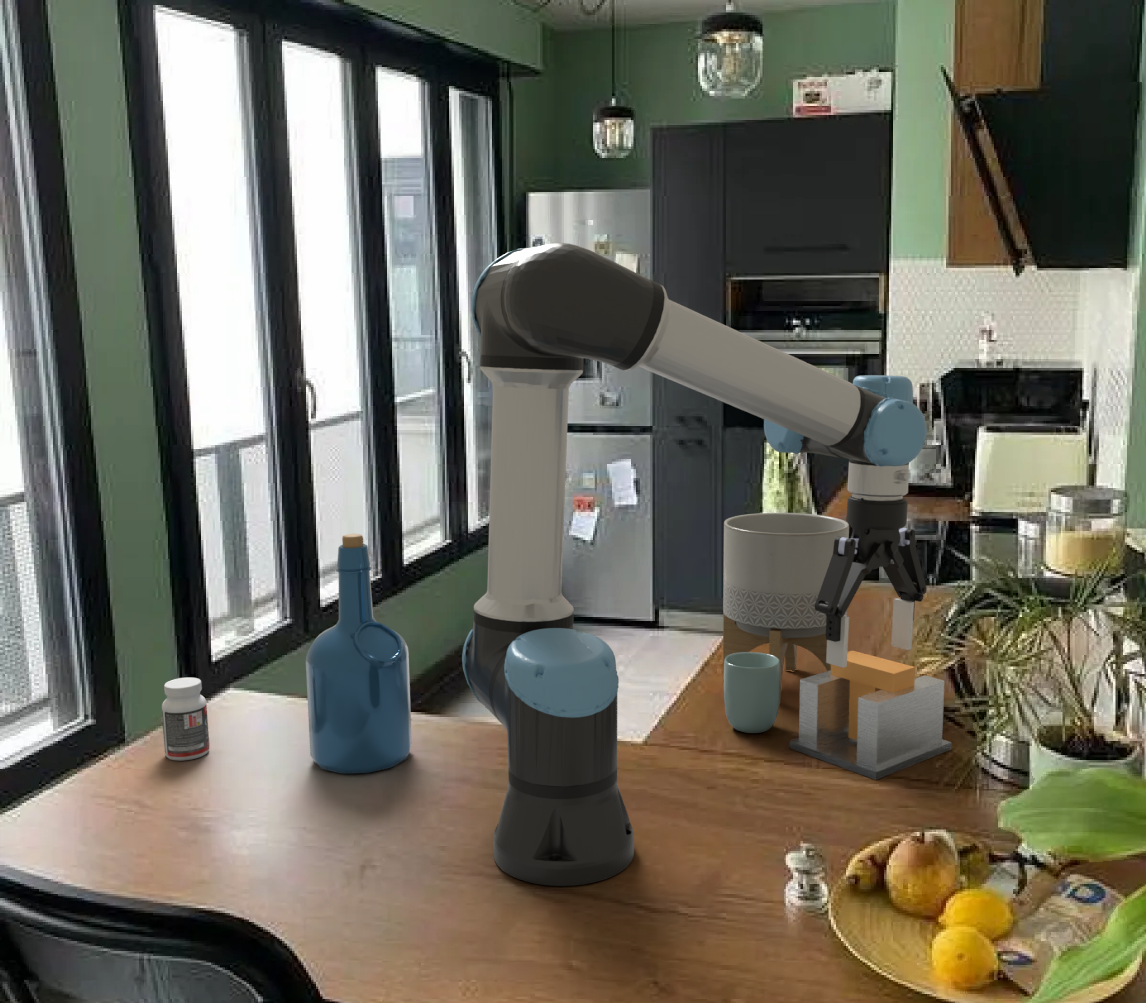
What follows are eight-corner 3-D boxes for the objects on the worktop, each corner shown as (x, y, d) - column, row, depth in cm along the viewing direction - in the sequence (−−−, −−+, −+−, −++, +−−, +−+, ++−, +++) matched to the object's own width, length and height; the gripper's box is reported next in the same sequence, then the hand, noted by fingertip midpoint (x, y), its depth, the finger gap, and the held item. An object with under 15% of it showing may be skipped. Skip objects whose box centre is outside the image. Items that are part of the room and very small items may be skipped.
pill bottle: (217, 753, 152) (213, 682, 151) (178, 765, 148) (173, 692, 147) (196, 743, 156) (191, 673, 155) (157, 754, 152) (152, 683, 151)
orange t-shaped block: (891, 752, 146) (893, 673, 144) (829, 731, 153) (831, 656, 152) (912, 744, 148) (915, 667, 147) (850, 724, 156) (852, 650, 155)
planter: (838, 710, 166) (842, 536, 162) (711, 698, 172) (712, 530, 168) (850, 673, 184) (854, 515, 180) (734, 663, 190) (736, 510, 186)
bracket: (875, 780, 141) (878, 706, 139) (789, 748, 152) (790, 679, 150) (951, 749, 151) (953, 680, 149) (864, 721, 161) (866, 657, 160)
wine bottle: (290, 760, 150) (278, 536, 145) (371, 733, 159) (363, 522, 155) (352, 787, 140) (342, 549, 136) (435, 757, 150) (428, 534, 145)
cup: (778, 740, 155) (779, 669, 153) (721, 736, 156) (721, 666, 155) (780, 720, 162) (781, 653, 161) (725, 717, 164) (725, 650, 162)
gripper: (838, 507, 135) (831, 679, 138) (959, 491, 151) (950, 647, 154) (790, 500, 141) (784, 665, 144) (911, 485, 156) (903, 635, 160)
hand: (869, 656), depth 149 cm, fingers open, 13 cm apart
